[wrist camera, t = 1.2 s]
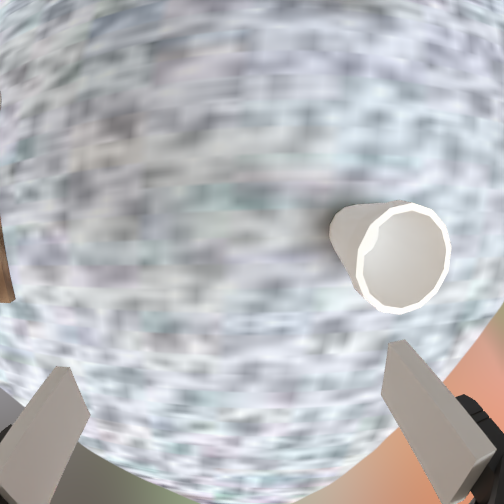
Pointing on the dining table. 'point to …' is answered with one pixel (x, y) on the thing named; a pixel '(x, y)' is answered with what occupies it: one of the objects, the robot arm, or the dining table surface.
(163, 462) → the dining table surface
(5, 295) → the walnut board
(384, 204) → the foam cup
